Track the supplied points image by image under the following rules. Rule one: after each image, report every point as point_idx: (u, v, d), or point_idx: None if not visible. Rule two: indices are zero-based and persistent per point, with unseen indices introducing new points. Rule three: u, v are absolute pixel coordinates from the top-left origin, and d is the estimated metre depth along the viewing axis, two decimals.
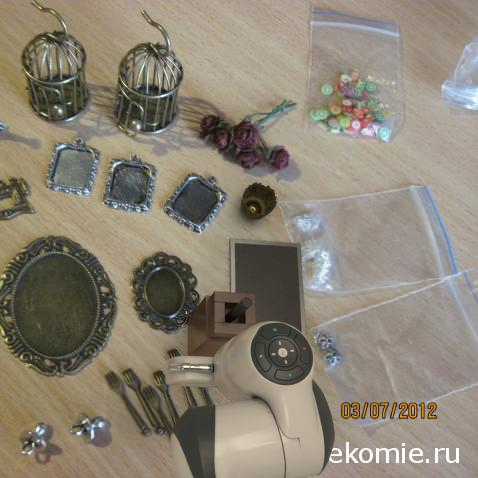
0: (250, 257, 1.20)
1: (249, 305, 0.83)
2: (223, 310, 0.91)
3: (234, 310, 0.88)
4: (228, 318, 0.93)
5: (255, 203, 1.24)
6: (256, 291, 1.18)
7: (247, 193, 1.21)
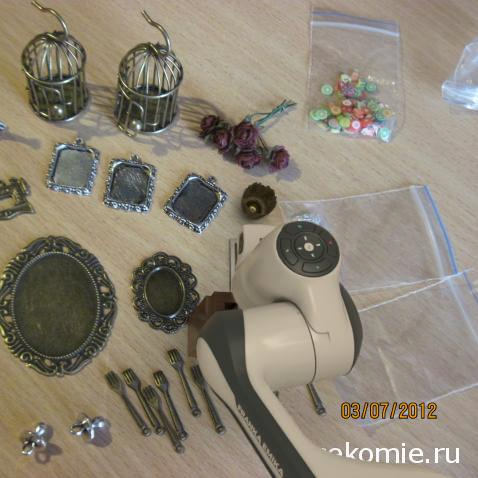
0: None
1: None
2: (223, 310, 0.91)
3: None
4: None
5: (255, 203, 1.24)
6: None
7: (247, 193, 1.21)
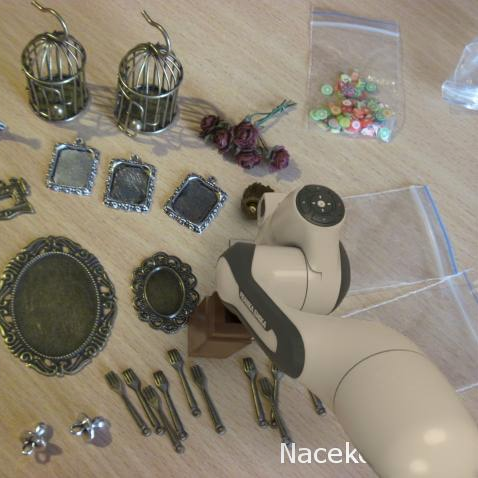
0: None
1: None
2: (223, 310, 0.91)
3: None
4: None
5: (255, 203, 1.24)
6: None
7: (247, 193, 1.21)
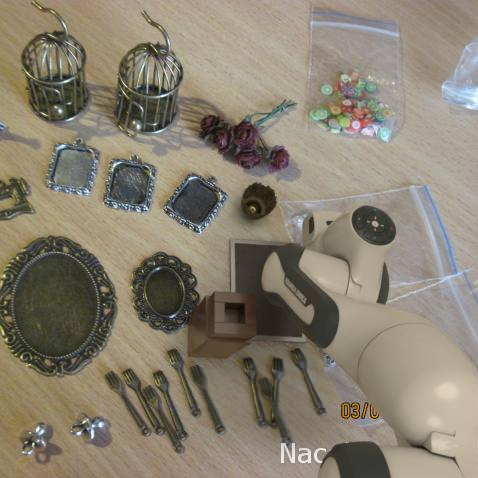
0: (250, 257, 1.20)
1: None
2: (223, 310, 0.91)
3: None
4: None
5: (255, 203, 1.24)
6: (256, 291, 1.18)
7: (247, 193, 1.21)
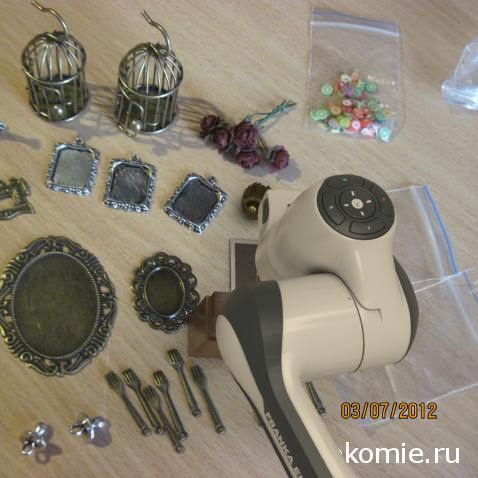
0: (250, 257, 1.20)
1: None
2: None
3: None
4: None
5: (255, 203, 1.24)
6: None
7: (247, 193, 1.21)
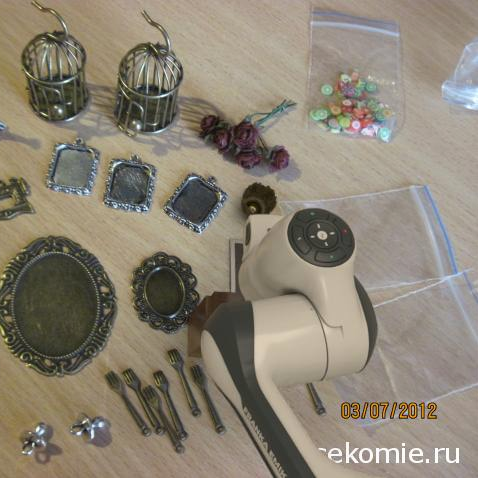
0: None
1: None
2: None
3: None
4: None
5: (255, 203, 1.24)
6: None
7: (247, 193, 1.21)
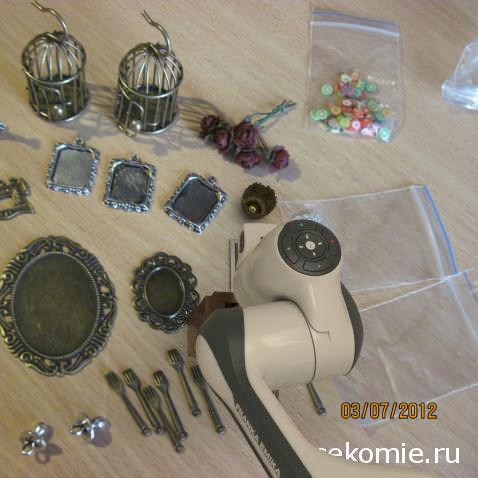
0: None
1: None
2: None
3: None
4: None
5: (255, 203, 1.24)
6: None
7: (247, 193, 1.21)
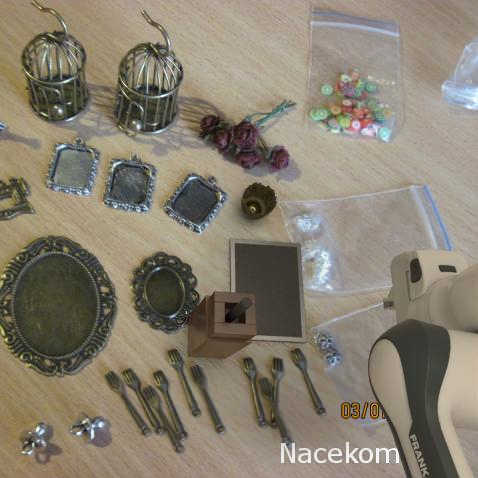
0: (250, 257, 1.20)
1: (249, 305, 0.83)
2: (223, 310, 0.91)
3: (234, 310, 0.88)
4: (228, 318, 0.93)
5: (255, 203, 1.24)
6: (256, 291, 1.18)
7: (247, 193, 1.21)
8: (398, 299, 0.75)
